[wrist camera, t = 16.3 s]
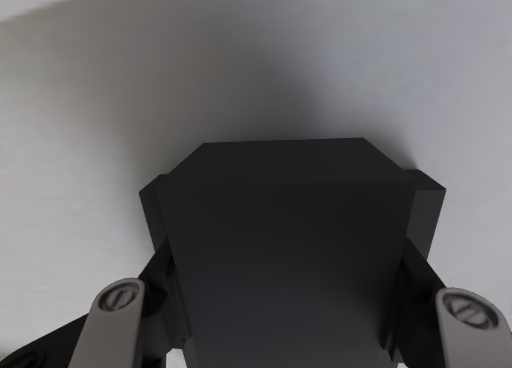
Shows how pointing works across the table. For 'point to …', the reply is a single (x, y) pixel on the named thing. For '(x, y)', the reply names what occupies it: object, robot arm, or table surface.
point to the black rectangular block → (287, 249)
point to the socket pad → (418, 232)
